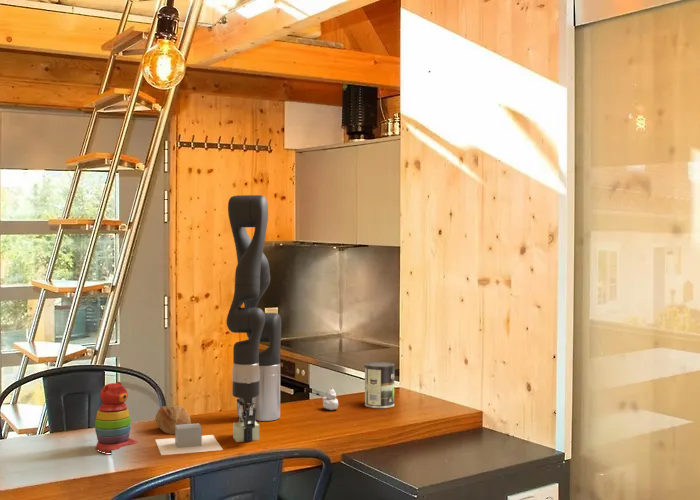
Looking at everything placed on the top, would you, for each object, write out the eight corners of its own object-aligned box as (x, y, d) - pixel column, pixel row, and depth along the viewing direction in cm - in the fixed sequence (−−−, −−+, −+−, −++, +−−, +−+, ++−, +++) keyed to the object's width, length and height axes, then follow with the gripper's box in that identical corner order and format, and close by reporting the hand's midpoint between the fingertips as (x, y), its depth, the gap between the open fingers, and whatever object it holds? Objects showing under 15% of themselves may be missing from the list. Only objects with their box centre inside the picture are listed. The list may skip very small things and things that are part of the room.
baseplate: (155, 443, 222) (155, 439, 222) (212, 439, 227) (212, 434, 227) (161, 459, 206) (161, 455, 206) (223, 454, 212) (223, 449, 212)
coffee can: (393, 401, 277) (394, 361, 276) (395, 408, 266) (395, 366, 266) (364, 401, 277) (364, 361, 276) (364, 408, 267) (364, 366, 266)
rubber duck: (331, 412, 260) (331, 388, 260) (317, 409, 265) (317, 385, 265) (342, 409, 264) (342, 385, 264) (328, 406, 269) (328, 383, 269)
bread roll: (163, 441, 225) (162, 412, 225) (150, 429, 238) (150, 402, 238) (196, 437, 230) (196, 409, 229) (181, 425, 243) (181, 399, 243)
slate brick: (177, 447, 213) (177, 429, 213) (175, 443, 218) (175, 424, 218) (201, 445, 215) (201, 427, 215) (198, 441, 220) (198, 423, 220)
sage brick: (236, 445, 220) (236, 427, 219) (232, 440, 224) (232, 422, 224) (259, 443, 222) (259, 425, 222) (255, 438, 226) (255, 420, 226)
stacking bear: (111, 456, 210) (111, 388, 209) (85, 450, 215) (85, 384, 215) (142, 446, 219) (142, 382, 218) (116, 441, 224) (116, 378, 224)
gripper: (227, 375, 228) (227, 434, 229) (237, 384, 214) (237, 447, 215) (253, 373, 230) (253, 432, 231) (265, 383, 217) (265, 445, 218)
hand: (246, 439), depth 223 cm, fingers closed on sage brick, 5 cm apart
